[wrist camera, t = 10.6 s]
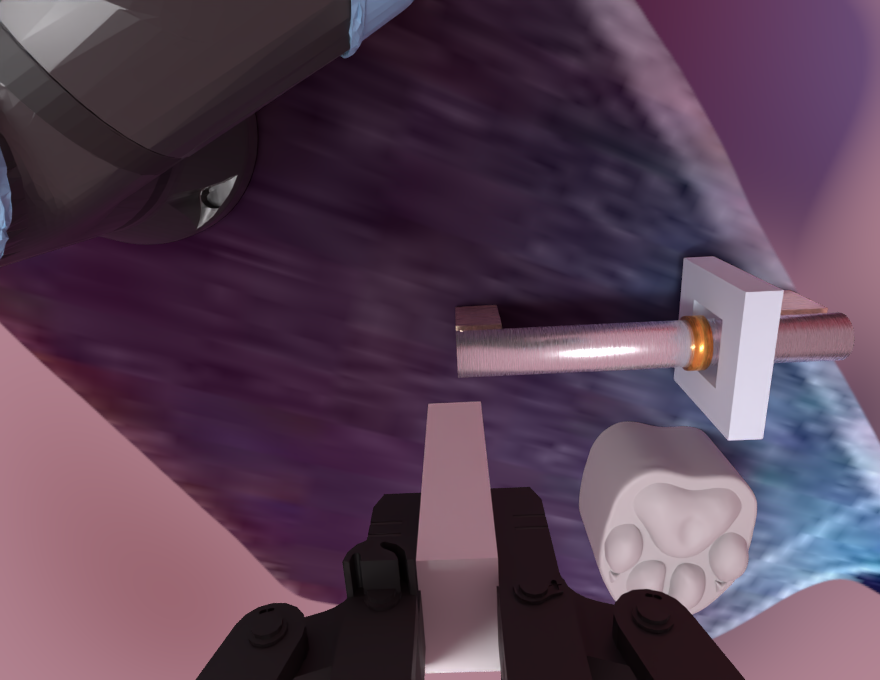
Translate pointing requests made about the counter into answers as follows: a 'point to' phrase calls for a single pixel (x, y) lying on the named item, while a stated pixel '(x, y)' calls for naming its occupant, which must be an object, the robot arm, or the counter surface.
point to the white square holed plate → (732, 344)
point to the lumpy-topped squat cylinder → (666, 513)
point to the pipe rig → (636, 342)
